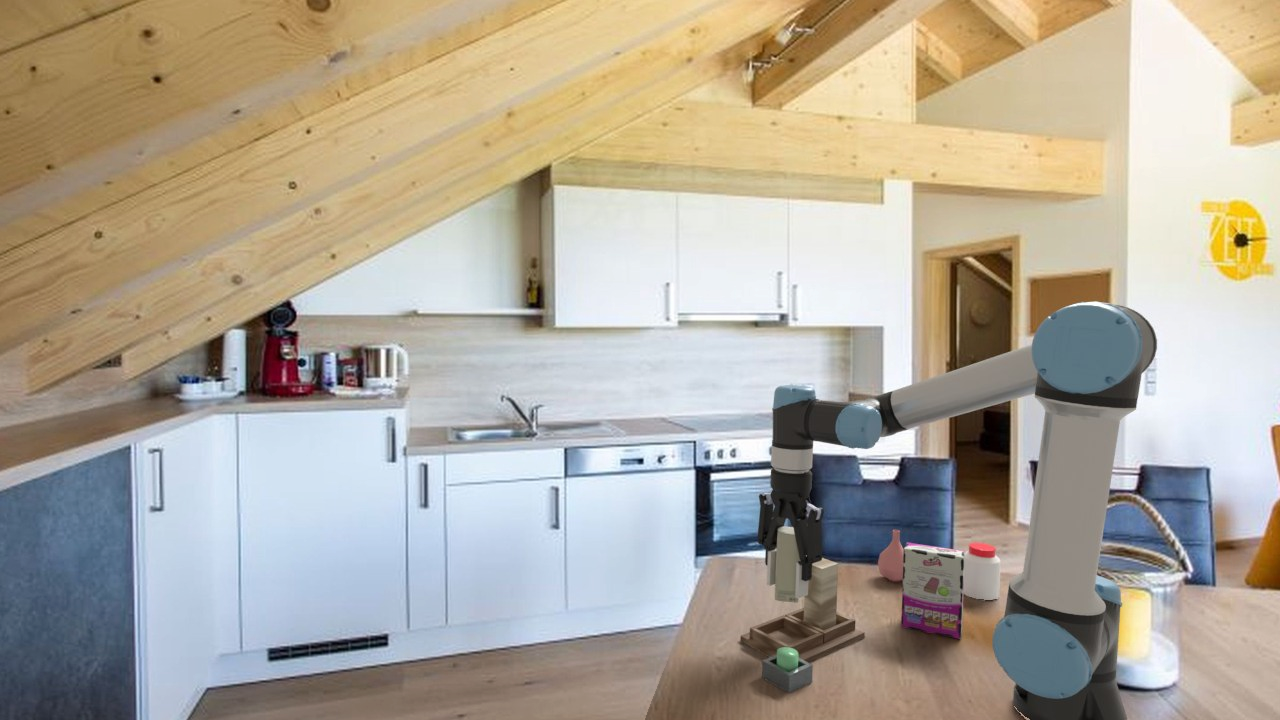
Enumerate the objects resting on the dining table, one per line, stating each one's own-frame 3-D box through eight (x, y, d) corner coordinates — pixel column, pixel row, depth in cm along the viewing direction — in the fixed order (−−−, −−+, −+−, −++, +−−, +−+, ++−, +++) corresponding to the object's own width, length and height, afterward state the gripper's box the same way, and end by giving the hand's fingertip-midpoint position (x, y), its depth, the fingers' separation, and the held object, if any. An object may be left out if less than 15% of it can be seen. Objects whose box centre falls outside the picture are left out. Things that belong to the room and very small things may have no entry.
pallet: (864, 637, 131) (867, 567, 130) (793, 669, 119) (796, 592, 118) (810, 613, 142) (813, 548, 141) (740, 640, 129) (742, 569, 128)
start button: (802, 676, 115) (802, 653, 115) (788, 682, 113) (788, 659, 112) (785, 667, 118) (786, 645, 118) (771, 673, 116) (772, 651, 115)
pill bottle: (953, 590, 155) (955, 543, 155) (976, 584, 159) (979, 539, 158) (983, 603, 148) (985, 554, 148) (1006, 597, 152) (1009, 549, 151)
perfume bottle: (879, 584, 158) (881, 534, 157) (875, 572, 165) (877, 524, 165) (914, 587, 156) (916, 537, 156) (908, 575, 164) (910, 527, 163)
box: (798, 604, 124) (802, 536, 123) (774, 601, 125) (777, 533, 124) (797, 592, 129) (801, 526, 128) (774, 589, 130) (777, 524, 129)
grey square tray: (812, 681, 115) (812, 664, 115) (788, 693, 111) (789, 675, 111) (784, 667, 119) (785, 650, 119) (761, 677, 116) (762, 660, 116)
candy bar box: (962, 630, 135) (966, 550, 134) (961, 640, 131) (965, 557, 130) (902, 617, 140) (906, 540, 139) (900, 627, 136) (903, 547, 135)
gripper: (847, 476, 120) (842, 602, 121) (766, 457, 135) (762, 569, 136) (820, 482, 115) (815, 613, 117) (740, 461, 130) (736, 577, 132)
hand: (787, 589), depth 126 cm, fingers closed on box, 6 cm apart
